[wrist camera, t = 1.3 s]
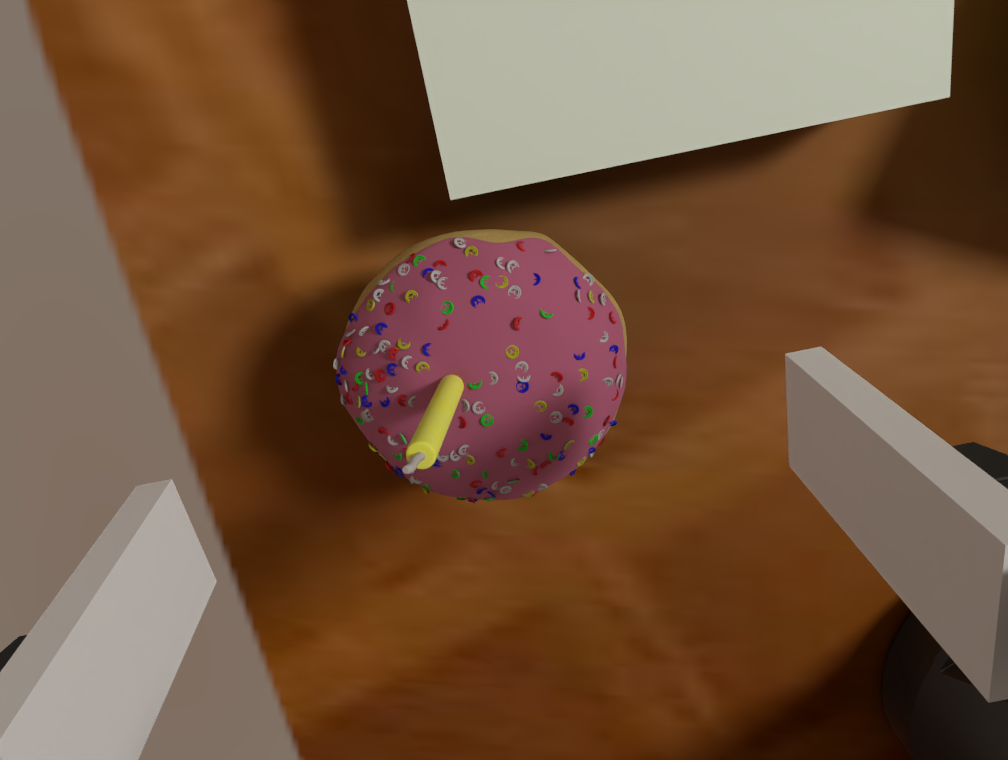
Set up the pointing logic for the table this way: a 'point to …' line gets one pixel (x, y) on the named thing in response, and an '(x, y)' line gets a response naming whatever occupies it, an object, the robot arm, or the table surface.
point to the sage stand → (659, 76)
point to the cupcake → (483, 364)
